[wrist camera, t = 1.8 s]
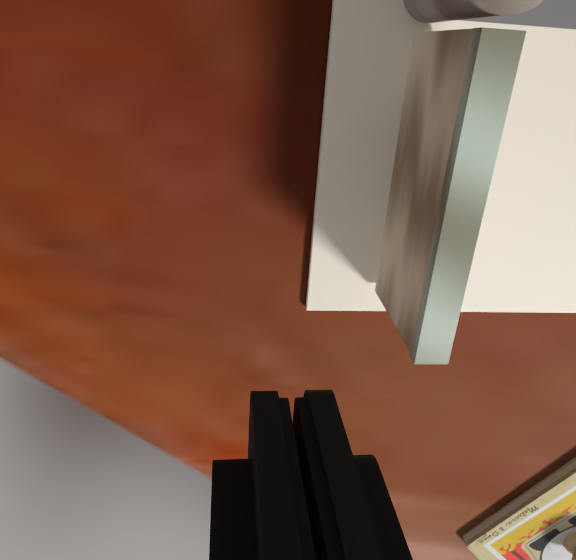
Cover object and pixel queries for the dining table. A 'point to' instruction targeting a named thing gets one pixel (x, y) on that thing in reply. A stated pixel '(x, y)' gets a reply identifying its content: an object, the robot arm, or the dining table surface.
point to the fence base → (465, 9)
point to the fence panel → (443, 179)
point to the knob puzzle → (532, 523)
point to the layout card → (506, 176)
